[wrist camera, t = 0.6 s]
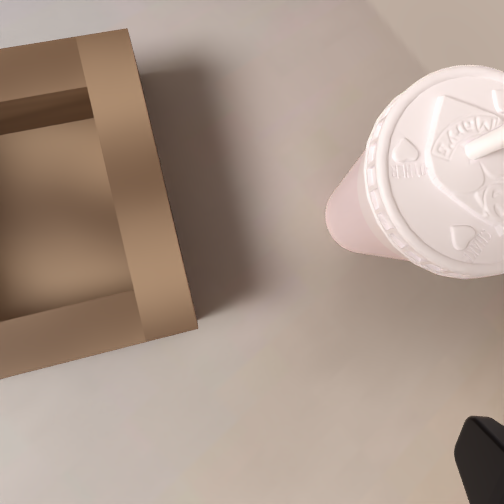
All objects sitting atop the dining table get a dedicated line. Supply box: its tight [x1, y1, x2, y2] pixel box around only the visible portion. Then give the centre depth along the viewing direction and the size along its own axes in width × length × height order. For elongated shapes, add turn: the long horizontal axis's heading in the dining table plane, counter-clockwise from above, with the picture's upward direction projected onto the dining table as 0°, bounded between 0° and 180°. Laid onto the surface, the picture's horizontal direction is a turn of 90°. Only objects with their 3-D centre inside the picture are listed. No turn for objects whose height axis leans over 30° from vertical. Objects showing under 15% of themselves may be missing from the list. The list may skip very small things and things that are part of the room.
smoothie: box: [325, 65, 504, 279], centre depth 16 cm, size 6×6×14 cm
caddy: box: [0, 28, 198, 379], centre depth 19 cm, size 12×12×4 cm
